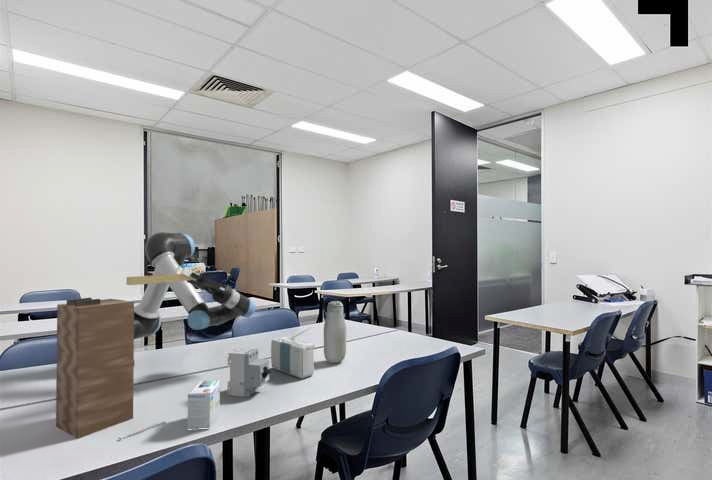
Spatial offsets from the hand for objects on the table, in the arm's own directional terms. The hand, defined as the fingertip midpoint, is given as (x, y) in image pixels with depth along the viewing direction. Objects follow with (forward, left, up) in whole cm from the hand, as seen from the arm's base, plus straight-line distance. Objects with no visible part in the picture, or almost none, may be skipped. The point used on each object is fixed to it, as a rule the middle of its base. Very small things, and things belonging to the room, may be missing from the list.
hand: (180, 269), depth 141 cm
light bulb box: (+28, -10, -45) cm, 54 cm away
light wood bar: (0, -5, -4) cm, 7 cm away
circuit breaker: (+22, +14, -45) cm, 52 cm away
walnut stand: (0, -28, -45) cm, 53 cm away
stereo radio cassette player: (+20, +39, -45) cm, 63 cm away
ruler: (+18, -23, -45) cm, 54 cm away
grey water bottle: (+27, +60, -45) cm, 79 cm away
